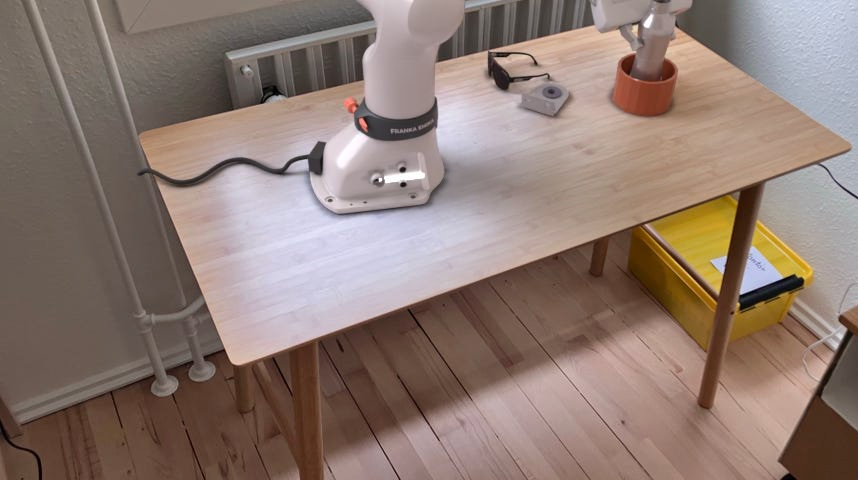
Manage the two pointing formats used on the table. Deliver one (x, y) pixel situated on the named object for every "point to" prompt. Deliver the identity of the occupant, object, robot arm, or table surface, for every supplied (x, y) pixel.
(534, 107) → the bracket
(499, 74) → the sunglasses
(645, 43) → the plastic bottle
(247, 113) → the table surface
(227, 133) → the table surface
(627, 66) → the holder sleeve
